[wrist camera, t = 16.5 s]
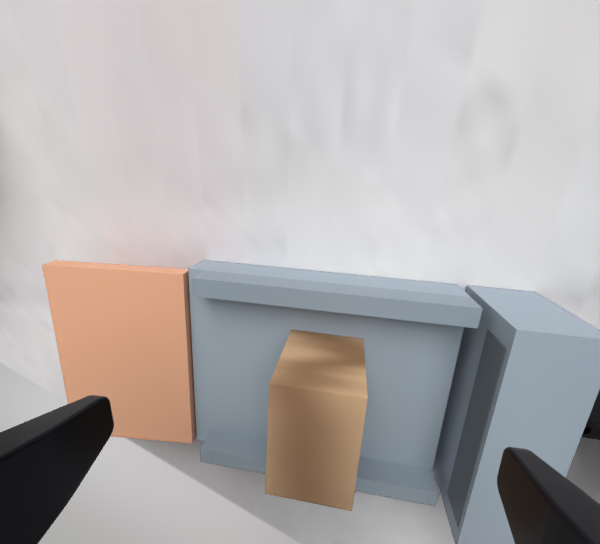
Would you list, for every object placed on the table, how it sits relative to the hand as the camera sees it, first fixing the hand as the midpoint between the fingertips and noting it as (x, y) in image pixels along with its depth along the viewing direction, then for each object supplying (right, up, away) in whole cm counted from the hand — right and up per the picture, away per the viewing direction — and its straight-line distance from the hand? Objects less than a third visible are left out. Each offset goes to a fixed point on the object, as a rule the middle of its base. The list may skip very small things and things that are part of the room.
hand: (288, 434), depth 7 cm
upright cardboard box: (+2, -3, +11) cm, 12 cm away
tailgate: (-6, -2, +12) cm, 14 cm away
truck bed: (+3, -2, +13) cm, 13 cm away
